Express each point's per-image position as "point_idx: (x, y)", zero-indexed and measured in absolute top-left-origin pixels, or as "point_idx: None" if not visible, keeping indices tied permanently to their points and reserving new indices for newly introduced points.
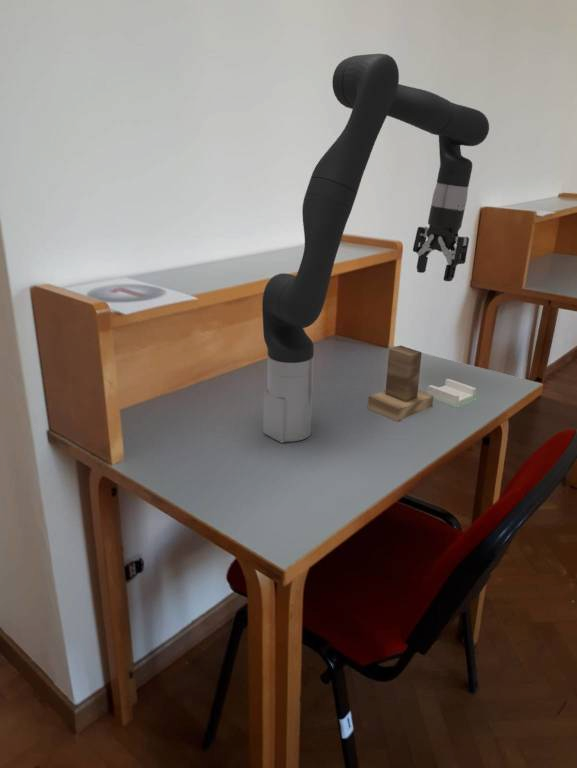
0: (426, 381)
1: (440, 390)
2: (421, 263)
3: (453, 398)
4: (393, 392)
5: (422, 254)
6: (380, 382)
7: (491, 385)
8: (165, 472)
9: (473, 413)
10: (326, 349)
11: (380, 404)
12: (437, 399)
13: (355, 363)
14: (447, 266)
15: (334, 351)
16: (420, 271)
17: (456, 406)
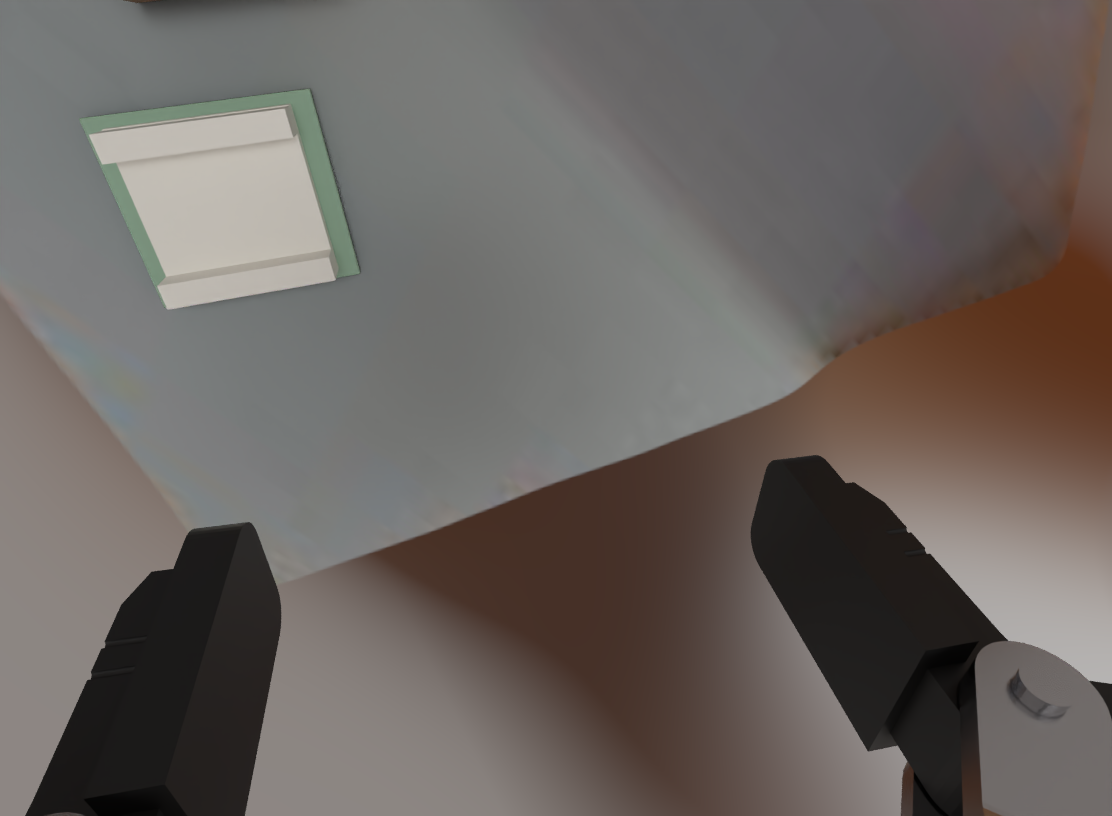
0: (462, 248)
1: (199, 119)
2: (844, 570)
3: (110, 130)
4: None
5: (967, 714)
6: (562, 29)
7: (304, 453)
8: None
9: (16, 161)
10: (1002, 108)
11: None
12: (216, 106)
13: (805, 104)
14: (127, 756)
15: (961, 125)
16: (772, 483)
17: (92, 125)
